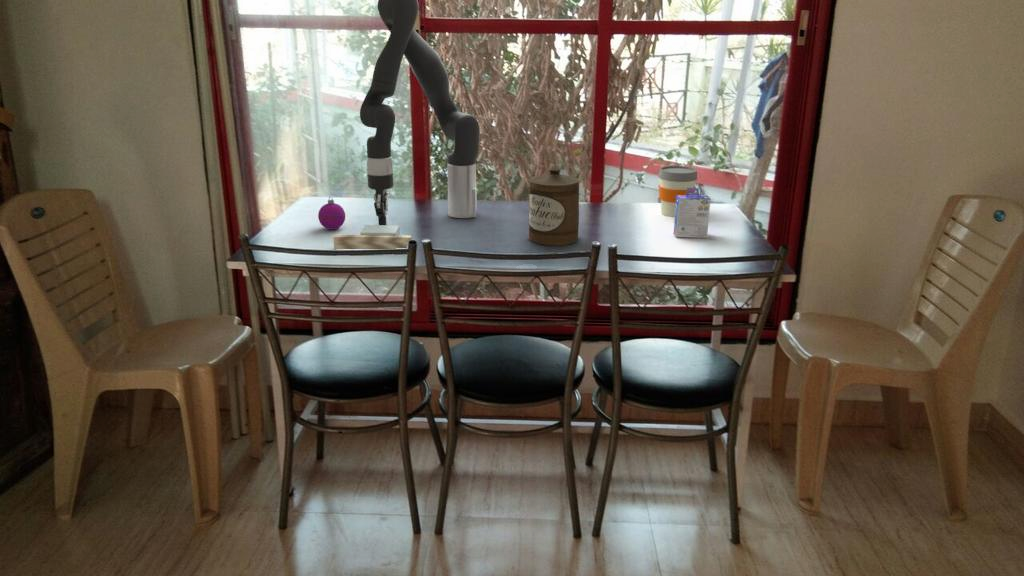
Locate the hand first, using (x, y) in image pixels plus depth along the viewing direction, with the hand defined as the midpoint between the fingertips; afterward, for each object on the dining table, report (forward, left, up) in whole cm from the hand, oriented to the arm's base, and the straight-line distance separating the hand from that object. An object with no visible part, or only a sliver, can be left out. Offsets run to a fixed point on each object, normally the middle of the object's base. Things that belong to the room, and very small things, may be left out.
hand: (382, 227), depth 254 cm
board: (0, +17, -2) cm, 17 cm away
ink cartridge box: (-94, -1, -2) cm, 94 cm away
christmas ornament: (+16, -4, -2) cm, 17 cm away
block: (-1, +12, -2) cm, 12 cm away
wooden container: (-52, +4, -2) cm, 52 cm away
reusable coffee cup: (-94, -27, -2) cm, 98 cm away
